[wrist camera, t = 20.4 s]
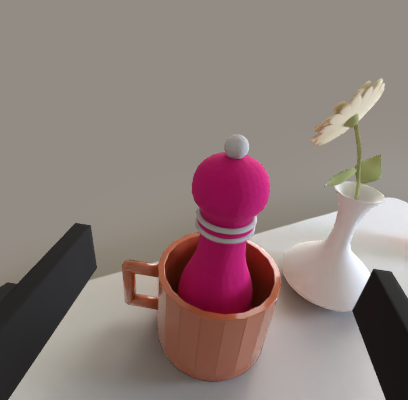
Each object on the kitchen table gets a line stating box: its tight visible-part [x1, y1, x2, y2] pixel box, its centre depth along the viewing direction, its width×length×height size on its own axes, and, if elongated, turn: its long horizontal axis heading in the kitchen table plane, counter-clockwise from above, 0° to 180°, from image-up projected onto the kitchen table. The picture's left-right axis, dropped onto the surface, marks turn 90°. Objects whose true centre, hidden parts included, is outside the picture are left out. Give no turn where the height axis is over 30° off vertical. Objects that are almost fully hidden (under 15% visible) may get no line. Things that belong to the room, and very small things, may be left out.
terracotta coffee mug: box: [122, 232, 281, 381], centre depth 28 cm, size 15×11×8 cm
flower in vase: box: [281, 79, 385, 312], centre depth 31 cm, size 13×11×25 cm
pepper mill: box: [178, 134, 270, 314], centre depth 25 cm, size 7×7×20 cm
